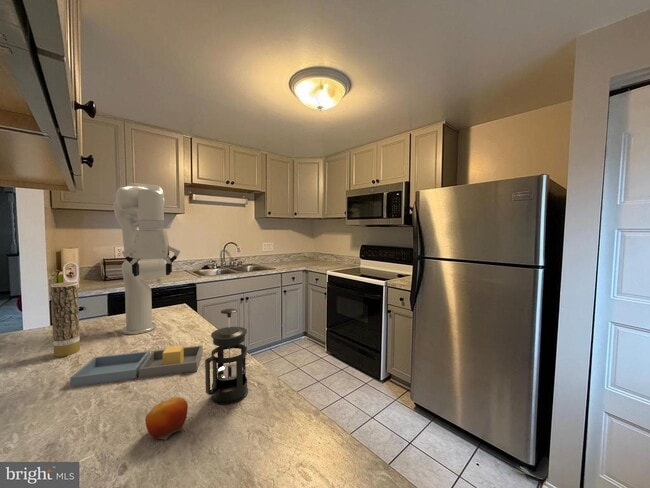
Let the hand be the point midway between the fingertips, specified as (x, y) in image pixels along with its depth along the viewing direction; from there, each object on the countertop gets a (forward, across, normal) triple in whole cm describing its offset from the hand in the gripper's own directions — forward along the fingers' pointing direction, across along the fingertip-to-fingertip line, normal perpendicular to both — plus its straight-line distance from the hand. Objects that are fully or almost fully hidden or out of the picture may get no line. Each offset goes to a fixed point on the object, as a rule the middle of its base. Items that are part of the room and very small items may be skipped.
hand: (152, 275), depth 95 cm
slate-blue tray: (+28, -8, -10) cm, 31 cm away
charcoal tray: (+28, +8, -10) cm, 31 cm away
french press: (+28, +26, -32) cm, 50 cm away
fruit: (+29, +14, -42) cm, 53 cm away
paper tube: (+28, -30, +10) cm, 43 cm away
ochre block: (+28, +8, -10) cm, 31 cm away
